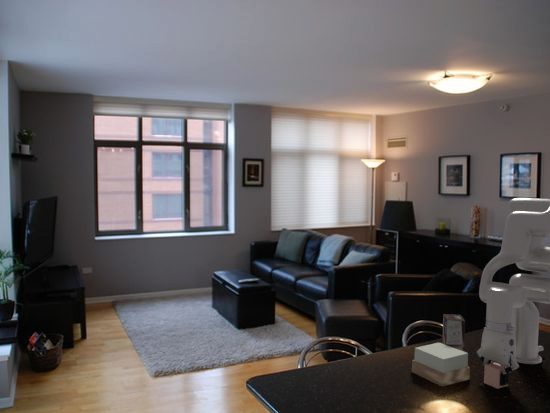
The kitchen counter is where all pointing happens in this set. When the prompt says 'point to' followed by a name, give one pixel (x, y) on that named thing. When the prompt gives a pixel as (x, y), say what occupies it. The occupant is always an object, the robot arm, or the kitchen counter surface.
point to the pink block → (493, 375)
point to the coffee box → (453, 331)
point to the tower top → (441, 357)
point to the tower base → (441, 374)
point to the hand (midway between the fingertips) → (495, 381)
